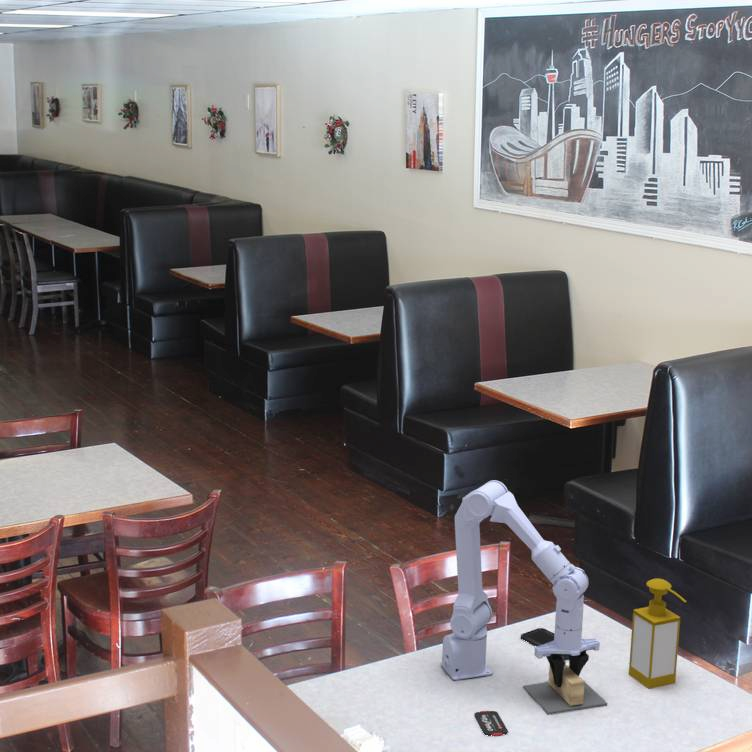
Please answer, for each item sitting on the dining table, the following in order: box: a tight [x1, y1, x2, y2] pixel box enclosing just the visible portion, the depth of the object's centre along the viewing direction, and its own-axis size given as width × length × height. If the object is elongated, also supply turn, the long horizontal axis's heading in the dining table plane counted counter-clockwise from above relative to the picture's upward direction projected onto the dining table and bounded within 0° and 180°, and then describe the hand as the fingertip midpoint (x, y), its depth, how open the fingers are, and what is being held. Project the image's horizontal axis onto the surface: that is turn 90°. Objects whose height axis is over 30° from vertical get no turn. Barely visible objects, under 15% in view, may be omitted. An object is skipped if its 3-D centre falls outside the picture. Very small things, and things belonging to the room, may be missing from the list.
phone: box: [520, 627, 569, 662], centre depth 260 cm, size 8×1×15 cm
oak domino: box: [548, 663, 585, 706], centre depth 235 cm, size 10×3×5 cm, turn 18°
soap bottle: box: [628, 578, 687, 690], centre depth 240 cm, size 7×13×24 cm, turn 24°
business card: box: [473, 710, 509, 737], centre depth 224 cm, size 10×1×5 cm
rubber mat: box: [522, 680, 608, 715], centre depth 236 cm, size 14×12×1 cm
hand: (565, 684), depth 236 cm, fingers closed on oak domino, 3 cm apart
